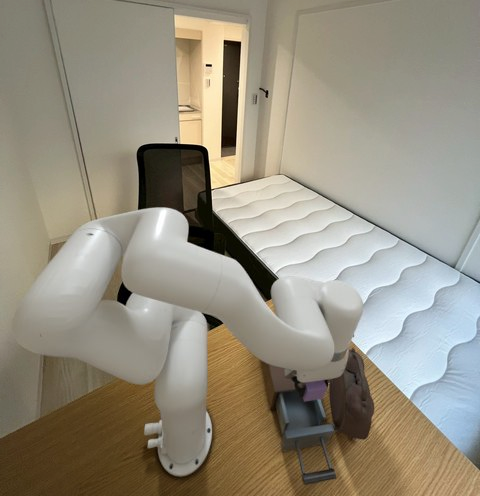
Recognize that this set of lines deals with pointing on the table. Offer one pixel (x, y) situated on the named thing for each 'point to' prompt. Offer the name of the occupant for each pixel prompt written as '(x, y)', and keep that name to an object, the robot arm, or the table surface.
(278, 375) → the brown drawer cabinet
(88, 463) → the table surface
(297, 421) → the tray
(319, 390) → the purple cube
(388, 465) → the table surface
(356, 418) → the brown beanbag pouch
